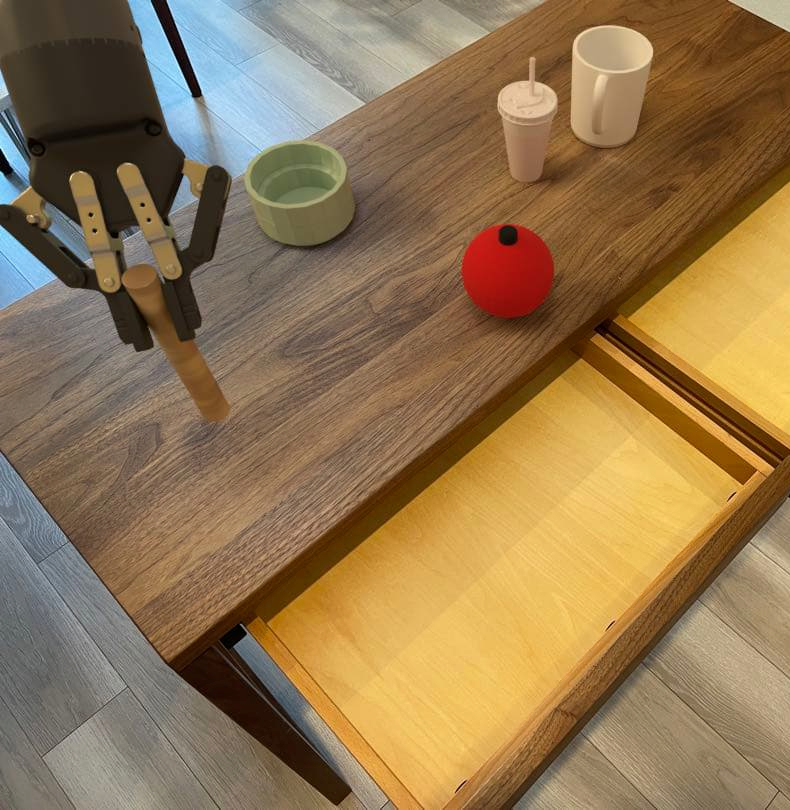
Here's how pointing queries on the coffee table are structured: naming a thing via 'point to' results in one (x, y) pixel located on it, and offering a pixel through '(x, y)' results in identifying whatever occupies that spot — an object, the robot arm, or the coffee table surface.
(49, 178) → the robot arm
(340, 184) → the bowl
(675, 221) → the coffee table surface
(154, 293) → the stick
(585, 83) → the mug
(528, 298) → the ornament
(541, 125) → the smoothie
